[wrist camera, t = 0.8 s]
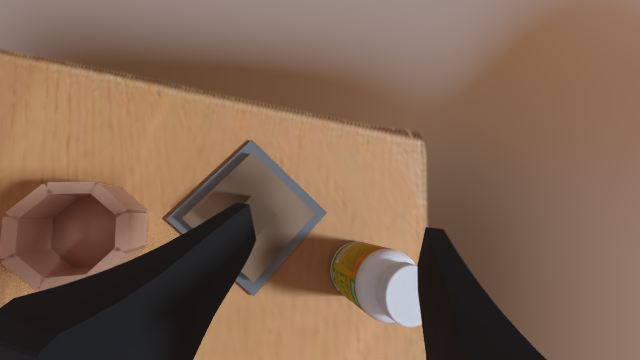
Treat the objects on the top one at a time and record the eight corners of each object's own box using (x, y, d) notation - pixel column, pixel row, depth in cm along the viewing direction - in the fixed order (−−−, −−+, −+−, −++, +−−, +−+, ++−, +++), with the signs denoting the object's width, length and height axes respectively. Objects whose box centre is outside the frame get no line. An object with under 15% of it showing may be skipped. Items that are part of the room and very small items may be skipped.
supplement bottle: (318, 265, 26) (359, 293, 17) (358, 230, 28) (415, 237, 19) (351, 308, 27) (408, 358, 18) (388, 270, 28) (459, 298, 19)
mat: (253, 295, 25) (253, 296, 24) (167, 219, 23) (165, 219, 23) (325, 212, 27) (326, 212, 27) (251, 140, 26) (251, 139, 26)
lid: (253, 279, 24) (255, 294, 20) (184, 218, 23) (171, 219, 19) (312, 213, 27) (326, 212, 22) (251, 154, 26) (253, 142, 21)
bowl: (95, 294, 21) (62, 312, 18) (20, 234, 21) (-30, 239, 17) (166, 227, 23) (152, 229, 20) (101, 169, 23) (72, 160, 19)
